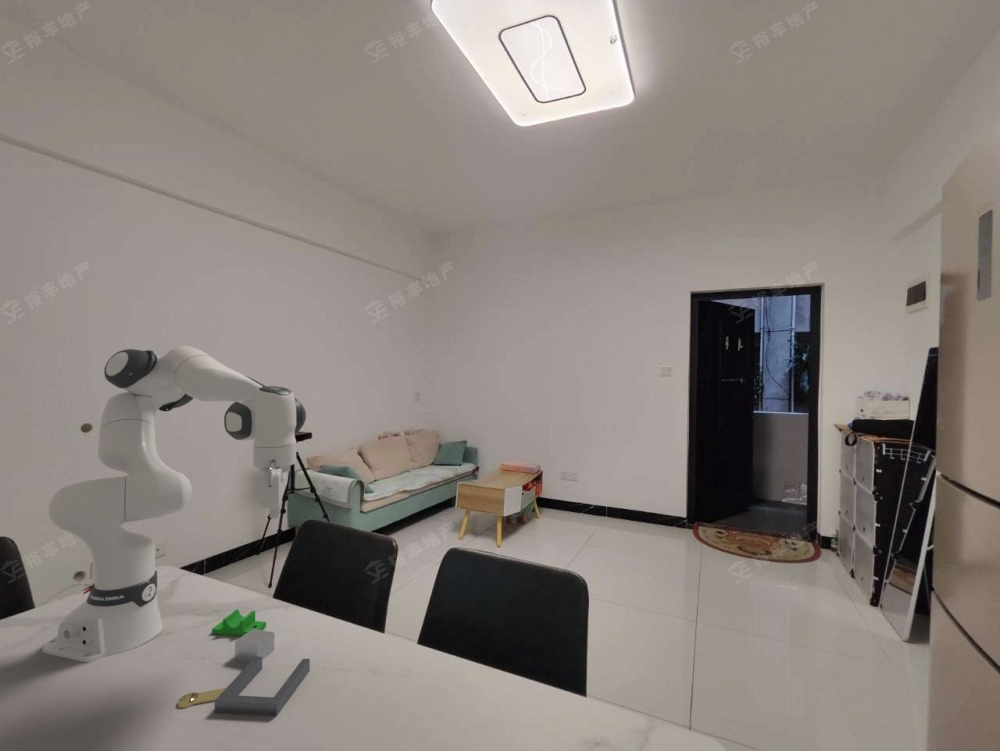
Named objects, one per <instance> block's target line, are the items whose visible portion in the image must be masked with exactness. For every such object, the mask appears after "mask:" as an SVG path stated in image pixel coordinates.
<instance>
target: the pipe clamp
mask: <svg viewBox="0 0 1000 751" xmlns="http://www.w3.org/2000/svg"><path fill="white" fill-rule="evenodd" d="M266 627H267V621H259V620H256V610H251V611H250V612H249V613H248V614H247V615H246V616H243V614H241V612H240V609H238V608H237V609H235V610H234V611H232V612H231V613H229V614H228V615H227V616H225V617H224V618H223V619H222V621H221V622H219V623H218V624H216V625H215V626H214V627H212V628H211V634H214V635H227V636H237V637H238V636H239V637H242V636H243V635H245V634H246V633H248V632H249V631H250V630H252V629H258V630H263V631H264V629H265V628H266Z"/></svg>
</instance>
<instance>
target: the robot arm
mask: <svg viewBox="0 0 1000 751" xmlns="http://www.w3.org/2000/svg"><path fill="white" fill-rule="evenodd" d="M103 370H104V372H103V373H104V374H103V375H104V377H105V379H106V381H107V382H109V383H110V384H111V385H113V386H115V387H117V389H123V390H125V392H121V393H120V392H119V393H117V394H114V395H113V396H111V397H110V398H109V399H108V400H107V402H106V404H105V406H104V409H103V413H102V416H101V419H100V426H99V436H98V451H97V457H98V459H99V461H100V462H101V463H102V464H103V465H104V466H106V467H108V468H110V469H112V470H115V471H119V472H122V473H125V474H127V475H126V476H125V475H123V476H115V477H107V478H106V477H105V478H97V479H88V480H84V481H80V482H77V483H73V484H70V485H64V486H63V487H61V488H60V489H59V490H58V491H57V492H56V493H55V494H54V495H53V497H52V498H51V500H50V503H49V505H48V516H49V520H50V521H51V522H52V524H53V525H54V526H56V527H57V528H59V529H61V530H62V531H65V532H68V533H71V534H73V535H75V536H76V537H78V538H79V539H81V541H83V542H84V544H85V545H86V546H87V547H88V549H89V551H90V553H91V557H92V562H93V574H94V583H92V585H89V586H88V587H86V588H84V589H82V591H84V592H83V593H82V594H83V595H85V594H87V593H89V595H88V596H87V599H86V600H85V601H84V602H83V603H81V604H80V605H78V606H77V607H76V608H74V609H73V610H72V611H71V612H69V613H68V614H67V615H65V617H63V619H61V621H60V623H59V624H58V630H57V635H56V636H54V637H53V638H52V639H50V640H49V641H48V642H46V644H45V645H44V646H43V647H42V650H41V651H42V653H43V654H46V655H51V656H57V657H60V658H65V659H70V660H72V661H73V660H74V661H79V662H83V663H92V662H95V661H98V660H102V659H103V658H105V657H109V656H113V655H116V654H121V653H124V652H127V651H130V650H132V649H136V648H137V647H140V646H141V645H144V644H146V643H148V642H149V641H151V640H152V639H154V638H156V636H158V635H159V634H160V633H161V632H162V630H163V629H164V623H163V620H162V615H161V614H162V613H161V611H160V609H159V608H160V607H159V602H158V595H157V589H158V572H157V571H158V570H156V544H155V542H154V541H153V539H152V538H150V536H149V537H148V536H146V535H144V534H140V533H137V532H131V531H128V530H126V528H124V527H123V526H122V525H123V524H126V523H131V522H137V521H143V520H150V519H151V520H152V519H155V518H157V519H158V518H162V517H165V516H168V515H171V514H174V513H177V512H180V511H182V510H184V508H186V506H187V505H188V503H189V502H190V500H191V498H192V494H193V487H192V483H191V481H190V480H189V478H188V477H187V476H186V475H185V474H184V473H182V472H179V471H177V470H174V469H172V468H171V467H169V466H168V465H167V464H166V463H165V462H163V460H162V459H161V458H160V456H159V453H158V449H157V446H156V445H157V444H156V443H157V442H156V421H155V418H156V417H155V416H156V413H157V411H158V410H159V411H161V412H170V411H173V409H178V408H181V407H183V406H185V405H187V404H189V403H190V402H192V401H193V400H194V399H196V400H198V401H201V402H232V403H231V405H229V407H228V408H227V409H226V411H225V414H224V417H223V419H224V420H223V422H224V423H223V424H224V429H225V432H226V433H227V434H228V435H229V436H230V437H231V438H233V439H234V440H236V441H253V445H252V446H253V449H252V452H253V453H252V454H253V457H252V458H253V460H252V461H253V462H252V463H253V467H254V468H258V469H259V474H261V479H260V498H259V499H260V501H259V502H260V508H261V509H263V510H267V509H269V518H270V519H272V520H273V519H278V518H279V516H280V512H281V502H282V499H283V496H284V494H285V492H286V488H287V485H288V480H289V474H290V471H291V466H293V465H295V464H296V463H297V439H296V435H297V434H298V433H299V432H300V430H302V428H303V427H304V425H305V422H306V419H307V412H306V409H305V407H304V405H303V404H302V403H301V401H300V400H299V399H297V398H296V397H295V395H294V393H293V391H292V390H291V389H289V388H286V387H284V386H276V385H275V386H272V385H271V386H269V385H265V384H263V383H261V382H259V381H258V380H255V379H254V378H251V377H250V376H247V375H245V374H242V373H240V372H238V371H237V370H234V369H232V368H230V367H228V366H226V365H225V364H223V363H221V362H220V361H218V360H217V359H216V358H214V357H213V356H211V355H209V354H208V353H207V352H204V351H203V350H200V349H199V348H196V347H193V346H189V345H181V346H176V347H174V348H171V350H169V351H168V352H167V353H166V354H164V355H157V354H155V352H154V350H151V349H150V350H149V349H148V350H146V349H145V350H141V349H135V348H134V349H133V348H127V349H122V350H120V351H117V352H116V353H114V354H113V355H112V356H111V357H110V358H109V359H108V360H107V361H106V363H105V366H104V369H103Z"/></svg>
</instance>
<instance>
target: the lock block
mask: <svg viewBox="0 0 1000 751" xmlns="http://www.w3.org/2000/svg"><path fill="white" fill-rule="evenodd" d="M274 651H275V632H273V631H267V630H264V629H263V630H258V629H252V630H250V631H249V632H248V633H246V634H245V635H243V636H240V637H239V638H237V639H236V640H235V641H234V660H235V661H241V662H244V663H248V664H249V663H250V662H251V661H252V660H253V659H254V658H255V657H262V661H263V660H265V659H266V658H267V657H269V655H271V654H272V653H273V652H274Z"/></svg>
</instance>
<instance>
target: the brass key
mask: <svg viewBox="0 0 1000 751" xmlns="http://www.w3.org/2000/svg"><path fill="white" fill-rule="evenodd" d="M226 688H227V687H223V688H219V689H218V688H217V689H211V690H207V691H202V692H194V691H193V692H190V693H189V692H188V693H186V694H184V695H183V696H181V697H180V698H179V699H178V703H177V706H178V708H180V709H185V708H189V707H191V706H195V705H200V704H206V703H210V702H215V700H216V699H217V698H218V696H219V695H220V694H221V693H222V692H223V691H224V690H225V689H226Z"/></svg>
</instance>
